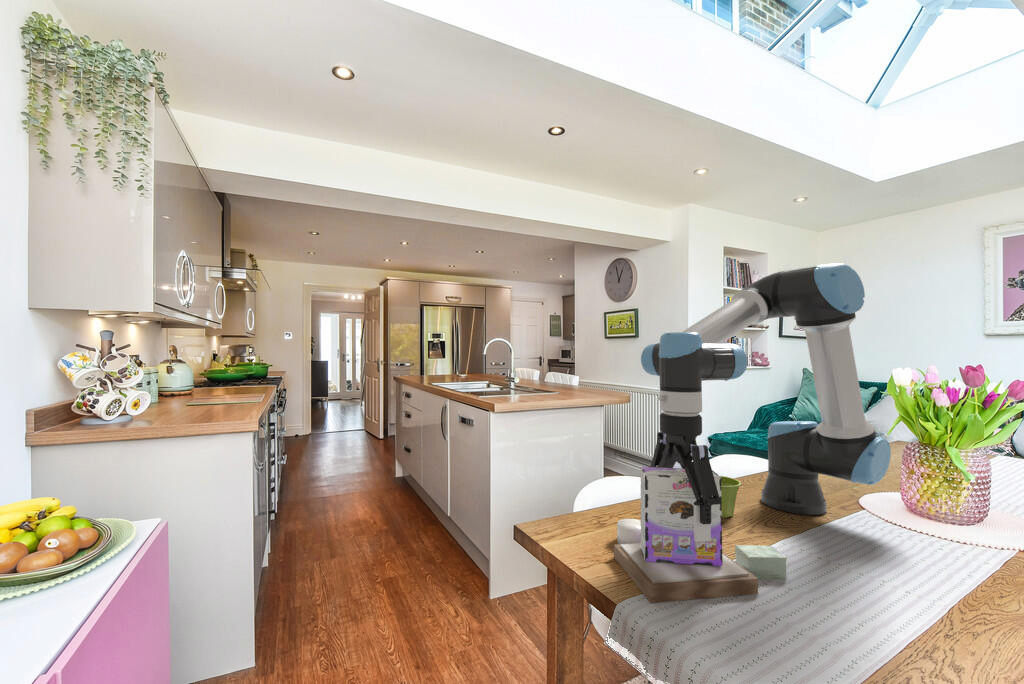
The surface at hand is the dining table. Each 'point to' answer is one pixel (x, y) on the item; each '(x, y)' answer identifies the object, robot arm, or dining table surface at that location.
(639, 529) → the white rounded dome
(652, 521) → the candy box
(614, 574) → the dining table surface
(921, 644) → the dining table surface
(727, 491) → the plant pot
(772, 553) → the pale green block
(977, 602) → the dining table surface
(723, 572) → the picture frame
